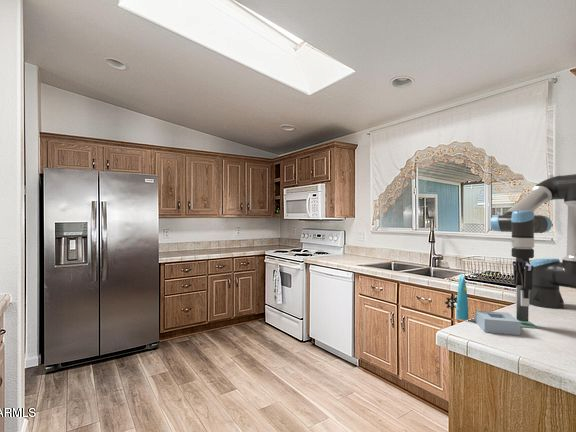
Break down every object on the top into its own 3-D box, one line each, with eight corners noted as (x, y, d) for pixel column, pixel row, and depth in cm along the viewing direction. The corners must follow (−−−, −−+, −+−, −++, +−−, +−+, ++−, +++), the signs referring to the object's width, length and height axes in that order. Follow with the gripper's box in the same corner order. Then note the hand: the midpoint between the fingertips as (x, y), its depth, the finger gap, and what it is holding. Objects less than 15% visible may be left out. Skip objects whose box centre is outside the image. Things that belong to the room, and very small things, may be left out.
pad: (529, 322, 136) (529, 321, 136) (538, 328, 129) (538, 327, 129) (507, 320, 138) (507, 319, 138) (515, 326, 131) (515, 325, 131)
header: (507, 324, 133) (507, 312, 133) (520, 335, 122) (520, 321, 122) (475, 322, 136) (475, 310, 136) (484, 332, 125) (484, 319, 125)
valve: (473, 317, 144) (458, 309, 156) (473, 302, 144) (458, 295, 156) (459, 317, 143) (444, 309, 155) (459, 302, 143) (444, 295, 155)
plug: (525, 319, 135) (525, 285, 135) (530, 322, 131) (530, 287, 131) (514, 318, 136) (514, 284, 136) (518, 321, 132) (519, 287, 132)
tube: (471, 321, 137) (471, 276, 137) (458, 320, 138) (458, 276, 138) (465, 316, 144) (465, 273, 144) (453, 315, 145) (453, 273, 145)
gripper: (504, 245, 143) (504, 298, 143) (520, 249, 126) (520, 309, 126) (524, 246, 141) (524, 299, 141) (543, 250, 124) (543, 311, 124)
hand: (522, 304), depth 134 cm, fingers closed on plug, 4 cm apart
